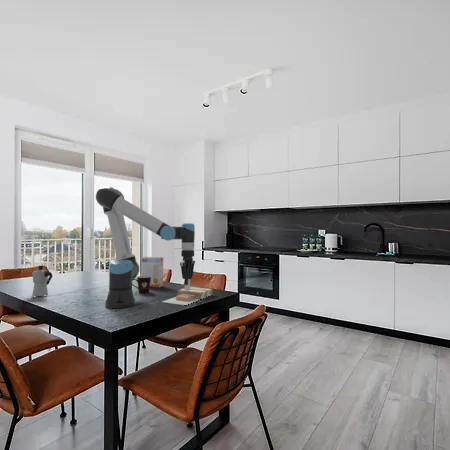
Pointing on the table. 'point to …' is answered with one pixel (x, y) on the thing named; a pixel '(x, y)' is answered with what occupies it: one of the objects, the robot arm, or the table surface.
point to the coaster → (185, 297)
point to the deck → (197, 292)
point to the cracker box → (153, 270)
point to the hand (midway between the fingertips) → (187, 290)
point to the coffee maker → (41, 281)
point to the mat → (179, 301)
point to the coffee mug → (143, 283)
